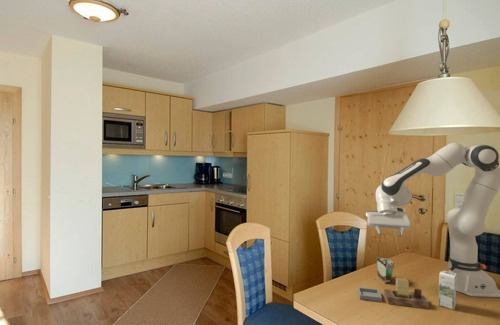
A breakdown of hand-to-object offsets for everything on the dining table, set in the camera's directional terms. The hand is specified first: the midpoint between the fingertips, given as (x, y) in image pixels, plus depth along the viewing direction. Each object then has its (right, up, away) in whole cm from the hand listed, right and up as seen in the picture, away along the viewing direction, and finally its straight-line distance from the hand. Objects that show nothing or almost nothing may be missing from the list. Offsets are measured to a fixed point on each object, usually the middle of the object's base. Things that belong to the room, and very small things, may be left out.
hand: (390, 234), depth 144 cm
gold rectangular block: (-1, -27, -14) cm, 30 cm away
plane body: (0, -27, -14) cm, 30 cm away
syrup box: (+17, -27, -17) cm, 36 cm away
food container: (+3, -26, +9) cm, 28 cm away
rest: (-14, -26, -9) cm, 31 cm away
